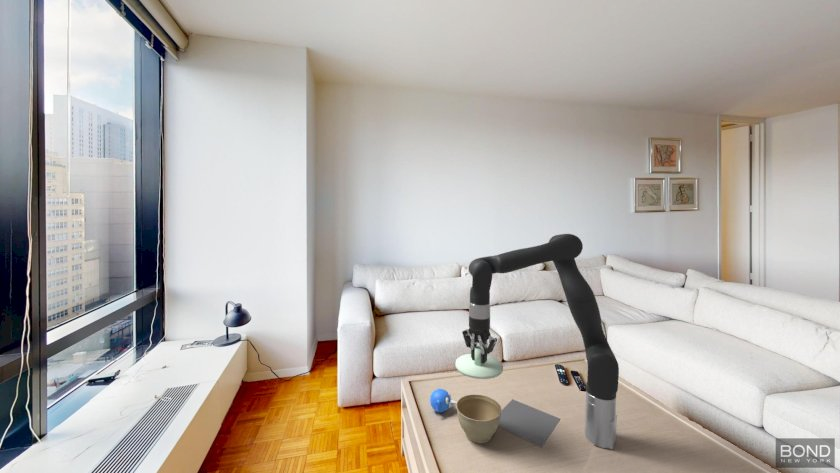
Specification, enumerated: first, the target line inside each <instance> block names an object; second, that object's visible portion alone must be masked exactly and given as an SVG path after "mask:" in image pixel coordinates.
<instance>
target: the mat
mask: <svg viewBox="0 0 840 473" xmlns="http://www.w3.org/2000/svg"><path fill="white" fill-rule="evenodd" d="M560 421H561V418H560V417H557V416H555V415H553V414H550V413H547V412H545V411H543V410H540V409H537V408H535V407H532V406H530V405H528V404H525V403H523V402H520V401H518V400H515V399H511V400H510V401H508V403H507V404H506V405H505V406H504V407H503V408H501V415H500V422H499V426H498V428H500V429H502V430H504V431H506V432H507V433H510V434H512V435H514V436H516V437H518V438H520V439H523V440H525V441H527V442H529V443H531V444H533V445H534V446H537V447H538V448H542V447H543V446H544V445H545V443H546V441H547V440H548V438H549V437H550V435H551V434H552V432H553V431H554V430H555V428H556V427H557V426H558V423H559V422H560Z"/></svg>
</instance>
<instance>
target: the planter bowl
mask: <svg viewBox="0 0 840 473" xmlns="http://www.w3.org/2000/svg"><path fill="white" fill-rule="evenodd" d="M456 402H457V404H456V405H455V406H456V413H457V420H458V422H459V425H460V427H461V429H462V430H463V432H464V434H465V437H466V438H467V439H468V440H469V441H471V442H472V443H473V442H474V443H476V444H484V443H487V442H489V441H490V440H491V439H492V437H493V435H494V434H495V433H496V431H497V430H498V428H499V427H498V426H499V422H500V415H501V410H502V407H501V405H500V403H499V402H498V401H497V400H496V399H494V398H492V397H490V396H488V395H484V394H479V393H478V394H473V393H472V394H466V395H464V396H462V397H460V398H458V400H457V401H456Z"/></svg>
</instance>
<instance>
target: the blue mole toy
mask: <svg viewBox="0 0 840 473" xmlns="http://www.w3.org/2000/svg"><path fill="white" fill-rule="evenodd" d="M429 402H430V406H431V407H432V409H433V410H434V412H435V411H436V413H444V412H446V411H448V409H451V408H452V407H454V406H456V404H457V401H455V400H453V399H452V398H451V394H450V393H449V391H447V390H446V389H443V388H437V389H434V390H433V391H432V392H431V395H430V398H429Z"/></svg>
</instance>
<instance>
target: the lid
mask: <svg viewBox="0 0 840 473" xmlns="http://www.w3.org/2000/svg"><path fill="white" fill-rule="evenodd" d="M481 353H482V352H481V348H480V345H477V346H476V347H475V360H472V358H471V353H466V354H462V355H460V356H458V357H457V358H456V360H455V365H454V366H455V368H456V370H457V371H458V372H459V373H460V374H462V375H463V376H466V377H468V378H472V379H477V380H478V379H479V380H490V379H495V378H497V377H499V376H501V375H502V374H503V371H504V364H503V362H502V361H501V360H499V359H498V358H496V357H495V356H492V355H489V354H487V361H486V362H485V363H484V364H482V363H481Z"/></svg>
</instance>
